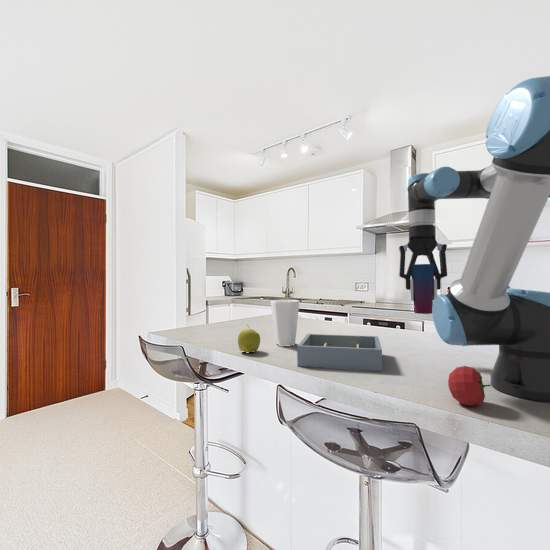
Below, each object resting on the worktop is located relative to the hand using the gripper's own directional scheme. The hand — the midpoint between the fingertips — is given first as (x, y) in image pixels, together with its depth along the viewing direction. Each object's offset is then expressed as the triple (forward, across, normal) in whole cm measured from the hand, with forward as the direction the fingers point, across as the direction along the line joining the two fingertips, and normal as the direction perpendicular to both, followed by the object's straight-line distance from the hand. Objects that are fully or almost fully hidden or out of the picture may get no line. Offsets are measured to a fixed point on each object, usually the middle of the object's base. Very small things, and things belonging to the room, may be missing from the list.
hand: (423, 300), depth 101 cm
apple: (+19, +57, -1) cm, 60 cm away
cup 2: (+4, 0, 0) cm, 4 cm away
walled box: (+19, +25, +3) cm, 32 cm away
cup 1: (+19, +47, -15) cm, 53 cm away
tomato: (+20, -3, +33) cm, 39 cm away
